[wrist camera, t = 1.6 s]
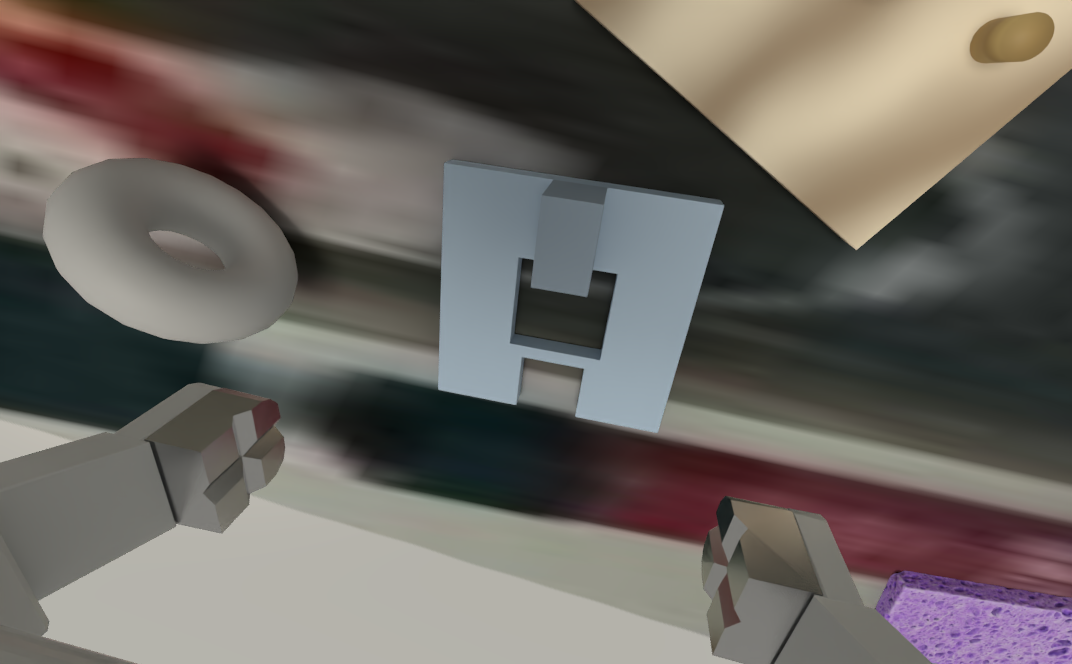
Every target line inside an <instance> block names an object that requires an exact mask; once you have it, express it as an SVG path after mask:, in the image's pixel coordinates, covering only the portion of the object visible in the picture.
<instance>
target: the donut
mask: <svg viewBox="0 0 1072 664" xmlns="http://www.w3.org/2000/svg"><path fill="white" fill-rule="evenodd" d="M157 230H162V231H172V232H176V233H180V234H183V235H186V236H188V237H191V238H193V239H195V240H197V241H199V242H201V243H203V244H204V245H205V246H207V247H208V248H210V249H211V250H212V251H214V252H215V253H216V254H217V256H218V257H219V258H220V259H221V261H222V263H223V265H224V267H225V269H224V270H205V269H201V268H196V267H192V266H190V265H188V264H186V263H183V262H181V261H179V260H176V259H174V258H173V257H171V256H170V255H169V254H167V253H166V252H164V251H163V250H161V249H160V247H159V246H158V245H157V244H156V243H155V242H154V241H153V240H152V239H151V237H150V235H149V232H151V231H157ZM43 238H44V240H45V243H46V245H47V247H48V250H49V252H50V254H51V257H52V259H53V261H54V264H55V266H56V268H57V270H58V271H59V273H60V274H61V275H62V276H63V277H64V278H65V279H66V281H67V282H68V283H69V284H70V285H71V286H72V287H73V288H74V289H75V290H76V291H77V292H78V293H79V294H80V295H81V296H82V297H83V298H84V299H85V300H86V301H87V302H88V303H89V304H91V305H93V306H94V307H96V308H98V309H99V310H101V311H103V312H104V313H106V314H107V315H109V316H111V317H112V318H114V319H116V320H117V321H119V322H120V323H122V324H124V325H126V326H129V327H132V328H135V329H138V330H141V331H144V332H146V333H149V334H152V335H155V336H158V337H161V338H164V339H170V340H177V341H185V342H193V343H201V344H207V343H216V342H225V341H234V340H240V339H244V338H246V337H248V336H251V335H253V334H255V333H258V332H260V331H262V330H264V329H267V328H269V327H270V326H271V325H273V324H274V323H275V322H276V321H277V320H278V319H279V318H280V316H281V315H282V314H283V313H284V312H285V311H286V310H287V309H288V308H289V307H290V305H291V303H292V301H293V298H294V294H295V290H296V286H297V283H298V272H297V266H296V261H295V255H294V252H293V250H292V249H291V247H290V245H289V243H288V241H287V239H286V238H285V236H284V234H283V232H282V230H281V229H280V227H279V226H278V225H277V224H276V223H275V222H274V221H273V220H272V219H271V217H270V216H269V215H268V214H267V213H266V212H265V211H264V210H263V209H262V208H261V207H260V206H258V205H257V204H256V203H255V202H253V201H252V200H251V199H249V198H248V197H247V196H246V195H244V194H243V193H242V192H240V191H239V190H237V189H235V188H233V187H232V186H230V185H228V184H226V183H224V182H223V181H221V180H219V179H217V178H215V177H213V176H211V175H209V174H206V173H203V172H200V171H198V170H195V169H192V168H190V167H187V166H184V165H181V164H176V163H171V162H165V161H160V160H154V159H148V158H127V159H108V160H105V161H102V162H99V163H96V164H93V165H91V166H88V167H85V168H82V169H79V170H77V171H75V172H72V173H71V174H70V175H69V176H68V177H67V178H66V179H65V180H64V181H63V182H62V184H61V185H60V186H59V187H58V188H57V189H56V190H55V191H54V192H53V193H52V194H51V196H50V197H49V198H48V199H47V205H46V213H45V220H44V227H43Z"/></svg>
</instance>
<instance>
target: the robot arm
mask: <svg viewBox="0 0 1072 664" xmlns="http://www.w3.org/2000/svg"><path fill="white" fill-rule="evenodd" d="M279 419H280V413H279V408H278V404H277V403H276V402H274V401H272V400H271V399H268V398H263V397H259V396H255V395H251V394H247V393H242V392H238V391H234V390H230V389H226V388H219V387H215V386H211V385H207V384H203V383H194V384H188V385H187V386H185V387H184V388H182V389H181V390H179V391H178V392H176V393H175V394H173V395H172V396H170V397H169V398H167V399H166V400H164V401H163V402H161V403H160V404H158V405H157V406H155V407H154V408H152V409H150V410H149V411H147V412H146V413H144V414H143V415H141V416H140V417H138V418H137V419H135V420H134V421H132V422H131V423H129V424H128V425H126V426H125V427H123V428H122V429H120V430H119V431H117V432H116V433H114V434H112V433H107V432H104V433H101V434H97V435H94V436H90V437H87V438H84V439H80V440H77V441H73V442H70V443H67V444H63V445H60V446H56V447H53V448H49V449H46V450H42V451H39V452H36V453H32V454H29V455H25V456H22V457H19V458H15V459H12V460H8V461H5V462H2V463H0V664H137V663H133V662H130V661H126V660H123V659H119V658H116V657H112V656H109V655H105V654H101V653H98V652H94V651H91V650H87V649H84V648H81V647H77V646H74V645H70V644H66V643H63V642H59V641H56V640H52V639H49V638H45V637H42V635H43V634H44V633H45V632H47V630H48V625H49V620H48V618H47V616H46V615H45V613H44V611H43V609H42V607H41V606H40V604H39V602H38V600H40V599H42V598H44V597H46V596H48V595H50V594H52V593H53V592H55V591H57V590H59V589H60V588H62V587H65V586H67V585H68V584H70V583H72V582H74V581H76V580H78V579H79V578H81V577H83V576H85V575H87V574H89V573H90V572H92V571H94V570H96V569H98V568H100V567H102V566H104V565H105V564H107V563H109V562H111V561H113V560H115V559H117V558H119V557H120V556H122V555H124V554H126V553H128V552H130V551H132V550H133V549H135V548H137V547H139V546H140V545H142V544H144V543H146V542H148V541H150V540H152V539H154V538H156V537H157V536H159V535H161V534H163V533H165V532H166V531H169V530H170V529H172V528H174V527H175V526H176V524H181V525H185V526H189V527H194V528H199V529H204V530H208V531H213V532H217V533H223V532H224V531H225V530H226V529H227V528H228V527H229V525H230V524H231V523H232V522H233V521H234V520H235V519H236V518H237V517H238V516H239V515H240V514H241V513H242V512H243V510H244V509H245V508H246V507H247V506H248V505H249V497H250V493H252V492H254V491H256V490H259V489H261V488H263V487H265V486H267V484H268V483H269V482H270V481H271V480H272V479H273V478H274V477H275V475H276V474H277V472H278V470H279V468H280V466H281V464H282V461H283V459H284V451H285V444H284V437H283V436H282V434H281V433H280V432H279V431H278V429H277V428H276V427H275V424H276V423H277V422H278V421H279ZM716 514H717V519H718V525H719V526H717V527H715V528H713V529H712V530H710V531H709V532H708V535H707V538H706V541H705V544H704V549H703V556H702V581H703V589H704V590H705V591H706V593H707V594H708V595H709V597H710V598H711V599H712V603H711V605H710V607H709V610H708V612H707V619H708V627H709V634H710V641H711V648H712V655H714V656H718V657H721V658H725V659H729V660H732V661H736V662H739V663H743V664H932V663H931V662H930V661H929V660H928V659H927V658H926V657H925V656H924V655H923V654H922V653H921V652H920V651H919V650H918V649H917V648H916V647H914V646H913V645H912V644H911V643H910V642H909V641H908V640H907V639H906V638H905V637H904V636H903V635H902V634H901V633H900V632H899V631H898V630H897V629H896V628H895V627H893V626H892V625H891V624H890V623H889V622H888V621H887V620H886V619H885V618H884V617H883V616H882V615H881V614H880V613H879V612H878V611H877V610H876V609H873V608H869V607H865V606H864V604H863V602H862V600H861V598H860V595H859V593H858V591H857V589H856V586H855V584H854V582H853V580H852V577H851V575H850V573H849V571H848V568H847V566H846V564H845V562H844V560H843V557H842V555H841V553H840V551H839V548H838V546H837V544H836V542H835V539H834V537H833V535H832V533H831V530H830V528H829V526H828V524H827V521H826V520H825V519H824V518H823V517H822V516H821V515H820V514H815V513H810V512H804V511H799V510H794V509H789V508H788V509H785V508H782V507H777V506H772V505H767V504H762V503H757V502H752V501H747V500H743V499H738V498H733V497H728V496H725V497H724V498H723V499H722V501H721V502H720V505H719V507H718V509H717V512H716Z"/></svg>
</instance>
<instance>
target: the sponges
mask: <svg viewBox="0 0 1072 664" xmlns="http://www.w3.org/2000/svg"><path fill="white" fill-rule="evenodd" d="M876 610H877V611H878V612H879V613H880V614H881V615H882V616H883V617H884V618H885V619H886V620H887V621H888V622H889V623H890V624H891V625H892V626H893V627H895V628H896V629H897V630H898V631H899V632H900V633H901V634H902V635H903V636H904V637H905V638H906V639H907V640H908V641H909V642H910V643H911V644H912V645H913V646H914V647H916V648H917V649H918V650H919V651H920V652H921V653H922V654H923V655H924V656H925V657H926V658H927V659H928V660H929V661H930V662H931V663H937V664H1072V598H1069V597H1058V596H1054V595H1049V594H1043V593H1038V592H1029V591H1025V590H1018V589H1007V588H1005V587H1001V586H995V585H989V584H983V583H975V582H970V581H962V580H957V579H951V578H946V577H939V576H933V575H928V574H923V573H916V572H911V571H903V572H900V573H895V574H893V575H892V576H891V577H890V578H889V581H888V583H887V586H886V588H885V589H884V591H883V593H882V595H881V597H880V600H879V601H878V603H877V606H876Z"/></svg>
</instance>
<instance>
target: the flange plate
mask: <svg viewBox="0 0 1072 664" xmlns="http://www.w3.org/2000/svg"><path fill="white" fill-rule="evenodd" d="M723 208H724V204H723V203H722V202H721V200H718V199H712V198H705V197H698V196H692V195H685V194H678V193H672V192H665V191H659V190H652V189H645V188H639V187H632V186H626V185H619V184H612V183H606V182H599V181H592V180H586V179H579V178H573V177H566V176H559V175H553V174H546V173H540V172H533V171H526V170H520V169H513V168H506V167H500V166H493V165H487V164H480V163H473V162H467V161H460V160H453V159H452V160H450V161H447V162H445V163H444V186H443V225H442V263H441V301H440V339H439V377H438V390H443V391H448V392H453V393H458V394H463V395H468V396H473V397H478V398H483V399H488V400H493V401H498V402H503V403H508V404H513V405H516V404H517V401H518V398H519V396H520V391H521V383H522V374H523V366H524V358H530V359H535V360H541V361H546V362H551V363H557V364H562V365H567V366H573V367H578V368H583V369H584V371H583V377H582V382H581V387H580V392H579V398H578V403H577V409H576V415H575V417H579V418H584V419H589V420H594V421H599V422H604V423H609V424H614V425H620V426H625V427H630V428H635V429H640V430H645V431H650V432H655V433H658V430H659V427H660V423H661V420H662V416H663V413H664V409H665V406H666V403H667V399H668V396H669V392H670V389H671V386H672V382H673V379H674V375H675V372H676V369H677V365H678V362H679V358H680V355H681V352H682V348H683V345H684V341H685V338H686V335H687V331H688V328H689V324H690V321H691V317H692V314H693V311H694V307H695V304H696V300H697V297H698V294H699V290H700V287H701V283H702V280H703V277H704V273H705V270H706V266H707V263H708V260H709V256H710V253H711V249H712V246H713V243H714V239H715V236H716V232H717V229H718V225H719V222H720V219H721V215H722V212H723ZM522 258H526V259H532V260H534V263H533V272H532V280H531V287H532V288H538V289H544V290H549V291H555V292H561V293H567V294H572V295H578V296H584V297H587V296H588V291H589V286H590V281H591V276H592V271H593V270H597V271H603V272H609V273H615V274H617V276H616V280H615V285H614V290H613V295H612V300H611V305H610V310H609V315H608V319H607V324H606V329H605V334H604V339H603V344H602V349H601V350H600V349H595V348H589V347H584V346H579V345H573V344H568V343H562V342H557V341H551V340H546V339H540V338H535V337H530V336H524V335H519V334H514V332H515V322H516V313H517V304H518V294H519V285H520V276H521V266H522Z"/></svg>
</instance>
